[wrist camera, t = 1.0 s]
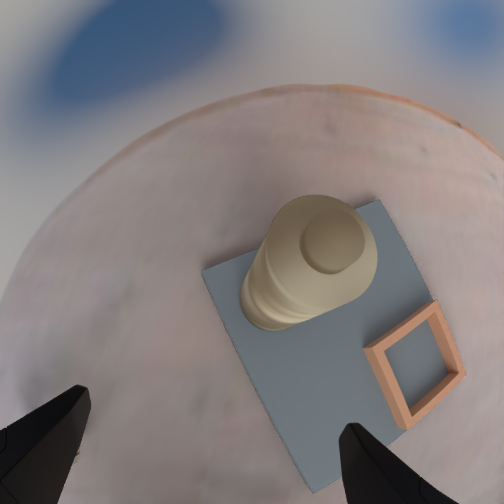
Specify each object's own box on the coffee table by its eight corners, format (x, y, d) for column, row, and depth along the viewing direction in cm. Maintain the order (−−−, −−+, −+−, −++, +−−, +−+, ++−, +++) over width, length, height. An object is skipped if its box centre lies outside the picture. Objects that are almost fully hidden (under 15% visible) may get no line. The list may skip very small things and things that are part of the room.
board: (457, 377, 24) (473, 376, 22) (309, 489, 19) (319, 500, 17) (374, 203, 29) (386, 191, 26) (201, 274, 24) (201, 265, 21)
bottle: (314, 313, 23) (410, 267, 12) (256, 342, 22) (314, 323, 10) (286, 256, 24) (352, 168, 13) (227, 281, 23) (252, 201, 12)
